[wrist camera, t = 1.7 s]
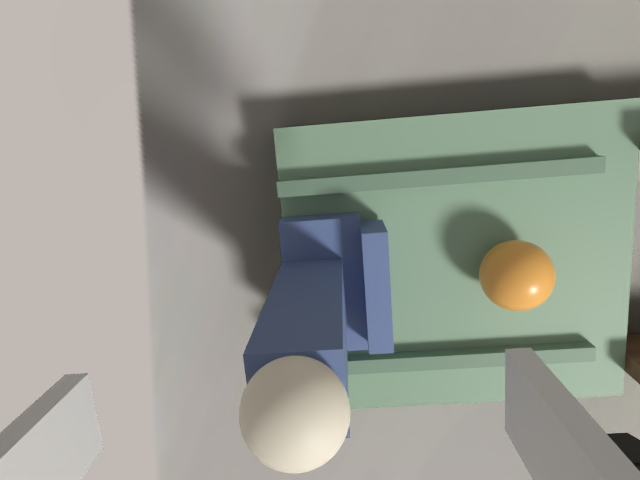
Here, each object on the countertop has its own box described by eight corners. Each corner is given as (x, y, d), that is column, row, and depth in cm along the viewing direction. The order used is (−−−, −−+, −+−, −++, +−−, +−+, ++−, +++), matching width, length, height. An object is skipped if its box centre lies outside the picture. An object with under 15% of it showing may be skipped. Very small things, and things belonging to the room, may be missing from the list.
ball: (470, 235, 26) (490, 253, 22) (539, 230, 25) (570, 247, 22) (471, 298, 26) (490, 325, 23) (537, 294, 26) (567, 320, 23)
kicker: (279, 217, 25) (210, 325, 12) (381, 209, 25) (430, 311, 12) (292, 341, 27) (244, 561, 14) (388, 336, 27) (437, 554, 13)
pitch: (279, 128, 27) (270, 128, 24) (614, 99, 26) (653, 96, 23) (304, 388, 31) (300, 419, 28) (599, 372, 30) (631, 403, 27)
